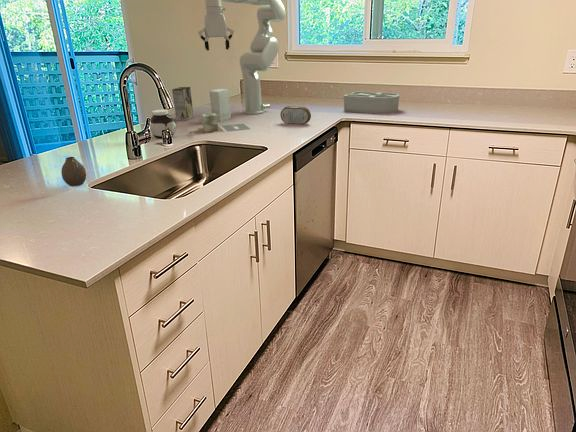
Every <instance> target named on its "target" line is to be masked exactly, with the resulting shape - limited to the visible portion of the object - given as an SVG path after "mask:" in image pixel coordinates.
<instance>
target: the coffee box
mask: <svg viewBox="0 0 576 432" xmlns="http://www.w3.org/2000/svg"><path fill="white" fill-rule="evenodd" d="M172 97H173V106H174V107H173V108H174V112H175V120H176V121H177V120H185V121H184V122H186V121H190V120H191V119H193V118H194V116H195V115H194V109H193V100H192V93H191V86H179V87H176V88H172Z"/></svg>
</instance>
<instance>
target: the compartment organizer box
mask: <svg viewBox="0 0 576 432" xmlns="http://www.w3.org/2000/svg"><path fill="white" fill-rule="evenodd" d="M399 103H400V94H398V93H392V92H373V91H371V92H370V91H353V92H351V93H347V94H344V95H343V111H344V112H348V113H349V112H351V113H367V114H378V115H379V114H382V115H383V114H384V115H387V114H394V113H395V114H396V113H397V112H398V110H399Z"/></svg>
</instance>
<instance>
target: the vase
mask: <svg viewBox="0 0 576 432" xmlns="http://www.w3.org/2000/svg"><path fill="white" fill-rule="evenodd" d="M61 177H62V178H61V179H62V180H63V182H64V183H65V184H66V185H68V186H69V187H78V186H82V185H83V184H84V183H85V181H86V180H87V172H86V168H85V167H84V165H83V164H82V163H81V162H80V161H78V160H77V159H76V157H74V156H69V157H66V158H65V161H64V162H63V165H62V166H61Z"/></svg>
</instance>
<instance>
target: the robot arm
mask: <svg viewBox="0 0 576 432" xmlns="http://www.w3.org/2000/svg"><path fill="white" fill-rule="evenodd" d="M204 2H205V3H204V4H205V12H206V13H205V14H204V19H203V20H204V28H202V29H201V30H199V31H197V34H198V35H199V37H200V39H201V40H202V41H203V42H204V48H205V50H206V51H210V44H209V39H210V38H224V39H225V41H224V42H225V43H224V44H225V50H228V51H229V48H230V40H231V39H232V37H233V35H234V33H235V31H234V30H233V29H231V28H229V27H227V24H226V18H225V14H223V13H224V12H226V8H224V7H223V6H222V3H223V2H224V3H234V4H245V5H251V6H252V5H253V6H259V7H258V8H257V11H256V19H257V23H258V29H257V32H256V33H255V35H254V37H253V39H252V41H251V43H250V47H249V48H250V49H249V50H250V51H251V52H250V51H249V52H244V53H243V54H242V55H240V58H239V67H240V70H241V75H242V76H241V77H242V88H243V90H242V91H243V102H244V103H243V104H244V109H243V110H241V113H242V114H243V115H244V114H245V115H261V114H263V113H265V112H266V111H265V109H270V108H271V104H264V103H262V88H261V78H260V75H259V73H258V72H261V73H262V72H267V71H268V70H269V69H270V68H271V66H272V65H273V62H274V60H275V59H276V57H277V55H278V52H279V46H280V45H279V41H278V39H277V38H276V37H274V31H273V28H272V26H271V23H280V22H283V21H284V20H285V18H286V15H287V13H286V8H285V6H284V4H283V2H282V0H204ZM228 32H229V35H228ZM203 33H204V35H205V36H204V35H203Z"/></svg>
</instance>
